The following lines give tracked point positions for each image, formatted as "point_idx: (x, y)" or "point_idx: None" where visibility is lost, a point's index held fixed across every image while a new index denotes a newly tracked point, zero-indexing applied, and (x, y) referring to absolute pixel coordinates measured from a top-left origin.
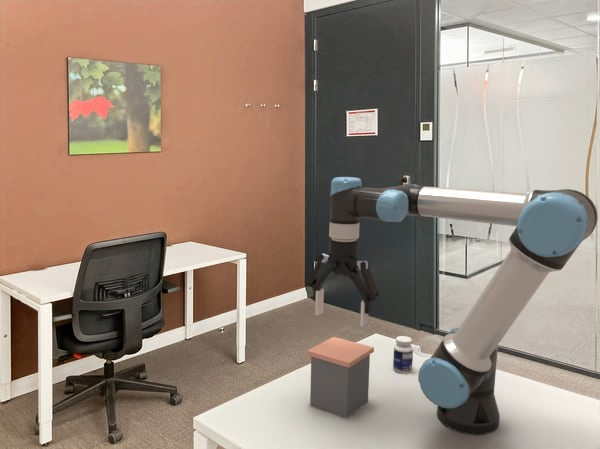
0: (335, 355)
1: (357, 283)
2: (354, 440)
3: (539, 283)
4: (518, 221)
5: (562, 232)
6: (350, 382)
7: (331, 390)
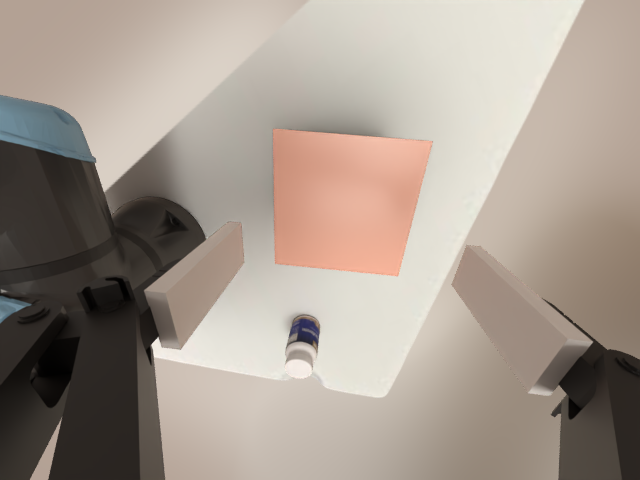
0: (335, 158)
1: (76, 467)
2: (256, 66)
3: None
4: None
5: None
6: None
7: None
